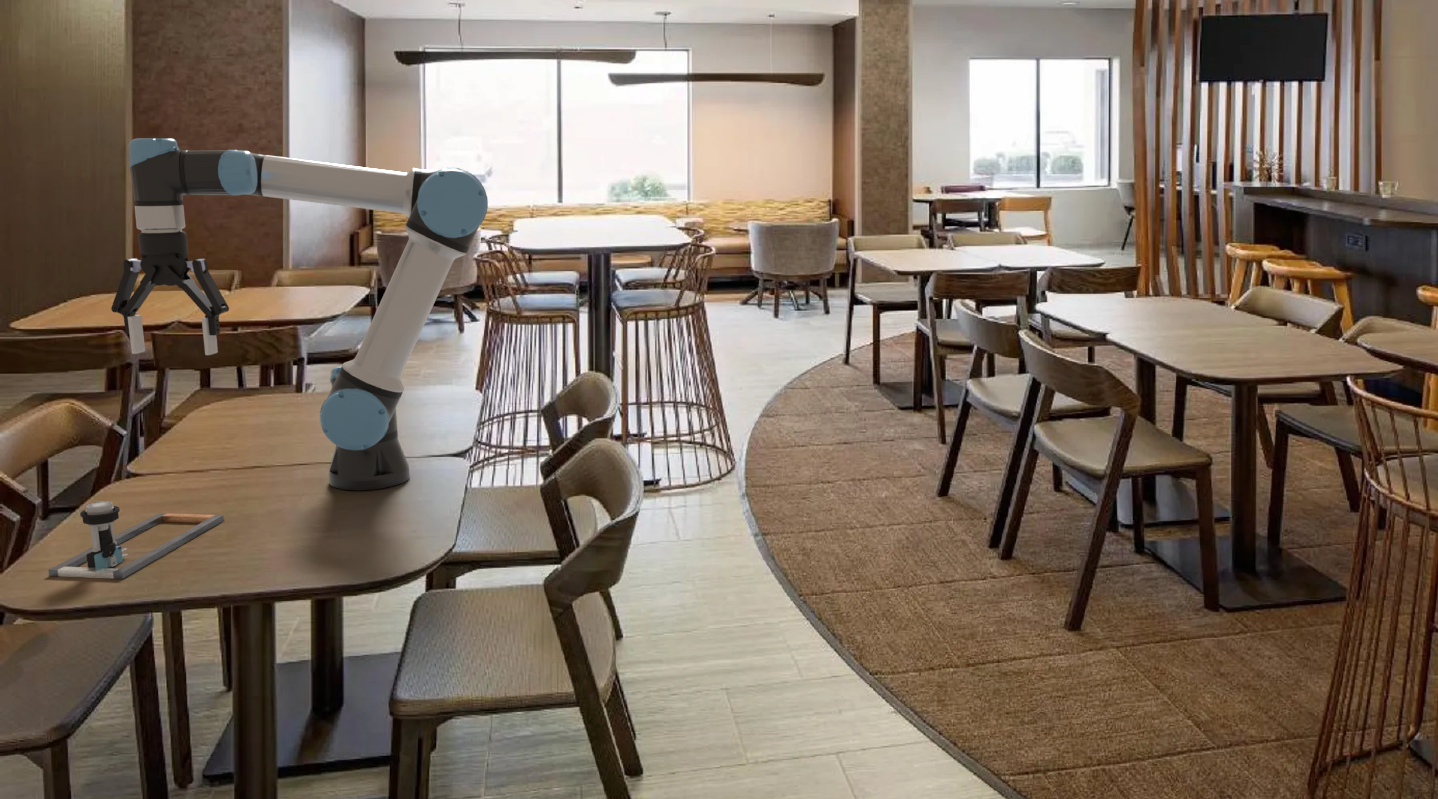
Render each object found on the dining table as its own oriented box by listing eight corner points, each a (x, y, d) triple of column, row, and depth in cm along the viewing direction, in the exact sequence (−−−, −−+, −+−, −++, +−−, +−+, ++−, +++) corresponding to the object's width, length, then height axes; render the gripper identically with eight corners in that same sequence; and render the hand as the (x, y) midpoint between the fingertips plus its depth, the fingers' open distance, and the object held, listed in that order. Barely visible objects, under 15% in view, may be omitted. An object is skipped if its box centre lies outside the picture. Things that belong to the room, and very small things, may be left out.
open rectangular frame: (223, 520, 195) (223, 515, 195) (122, 578, 168) (122, 572, 168) (159, 518, 197) (159, 513, 197) (49, 575, 170) (48, 569, 169)
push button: (114, 555, 178) (107, 495, 176) (140, 559, 177) (133, 498, 174) (79, 570, 172) (71, 507, 170) (106, 573, 170) (98, 511, 168)
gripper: (242, 229, 193) (253, 350, 198) (107, 229, 196) (121, 348, 200) (218, 232, 186) (230, 358, 190) (79, 231, 189) (94, 355, 193)
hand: (175, 353), depth 195 cm, fingers open, 13 cm apart
